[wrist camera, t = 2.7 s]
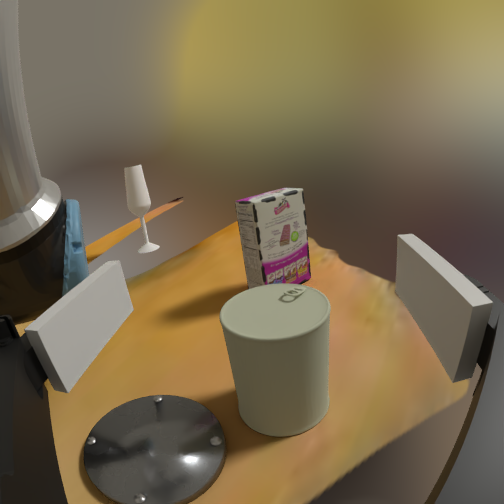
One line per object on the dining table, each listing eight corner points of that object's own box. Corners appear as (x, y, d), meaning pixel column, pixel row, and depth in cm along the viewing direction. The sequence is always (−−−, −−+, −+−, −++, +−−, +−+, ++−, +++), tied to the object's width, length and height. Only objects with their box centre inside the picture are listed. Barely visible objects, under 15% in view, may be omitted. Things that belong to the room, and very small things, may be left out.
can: (345, 391, 29) (350, 290, 25) (292, 452, 23) (285, 349, 19) (276, 364, 35) (266, 271, 32) (220, 410, 29) (194, 311, 25)
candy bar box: (291, 273, 60) (283, 187, 55) (311, 279, 56) (305, 188, 51) (246, 295, 54) (233, 199, 48) (266, 304, 50) (254, 201, 44)
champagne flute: (132, 252, 86) (116, 170, 79) (148, 244, 92) (133, 166, 84) (148, 253, 83) (132, 166, 76) (164, 245, 89) (149, 163, 81)
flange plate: (75, 501, 17) (67, 493, 17) (106, 403, 30) (102, 394, 30) (229, 511, 18) (226, 505, 17) (224, 397, 31) (222, 388, 31)
